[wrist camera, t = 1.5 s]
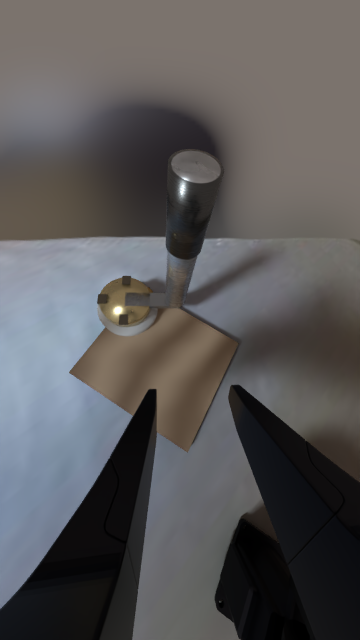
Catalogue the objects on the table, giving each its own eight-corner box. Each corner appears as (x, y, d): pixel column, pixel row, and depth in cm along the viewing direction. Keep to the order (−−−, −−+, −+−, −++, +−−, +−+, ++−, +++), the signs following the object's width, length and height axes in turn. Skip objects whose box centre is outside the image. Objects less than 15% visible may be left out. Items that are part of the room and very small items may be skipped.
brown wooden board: (235, 344, 24) (242, 341, 22) (186, 449, 19) (189, 456, 18) (125, 279, 26) (122, 271, 24) (54, 360, 21) (44, 358, 19)
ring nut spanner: (99, 329, 21) (-47, 200, 6) (105, 283, 23) (6, 107, 8) (185, 328, 22) (233, 217, 7) (183, 284, 24) (216, 131, 10)
